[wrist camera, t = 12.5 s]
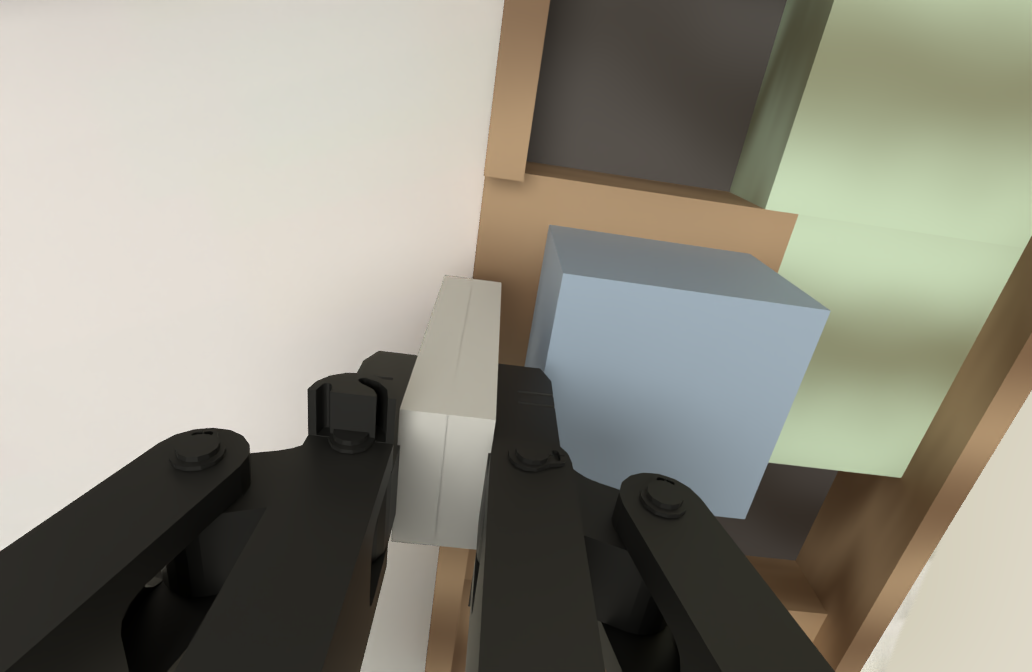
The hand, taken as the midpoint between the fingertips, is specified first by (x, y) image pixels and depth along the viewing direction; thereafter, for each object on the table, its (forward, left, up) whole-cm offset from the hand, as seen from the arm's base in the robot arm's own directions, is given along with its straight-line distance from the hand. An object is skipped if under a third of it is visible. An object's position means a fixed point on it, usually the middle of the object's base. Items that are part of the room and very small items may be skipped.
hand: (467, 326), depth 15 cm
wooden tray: (-5, -8, -5) cm, 11 cm away
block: (0, -5, -2) cm, 5 cm away
